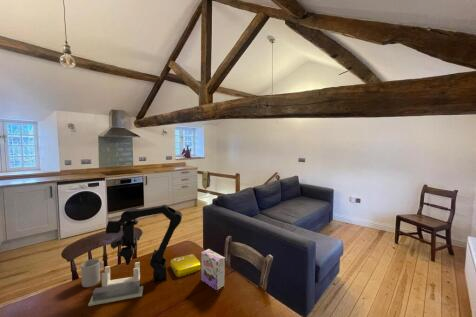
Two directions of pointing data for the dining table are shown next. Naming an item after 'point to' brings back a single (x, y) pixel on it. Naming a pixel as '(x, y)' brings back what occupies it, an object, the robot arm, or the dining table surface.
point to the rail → (116, 291)
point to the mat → (116, 298)
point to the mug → (91, 272)
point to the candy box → (212, 269)
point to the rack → (108, 282)
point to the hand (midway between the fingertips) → (129, 260)
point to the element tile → (185, 265)
